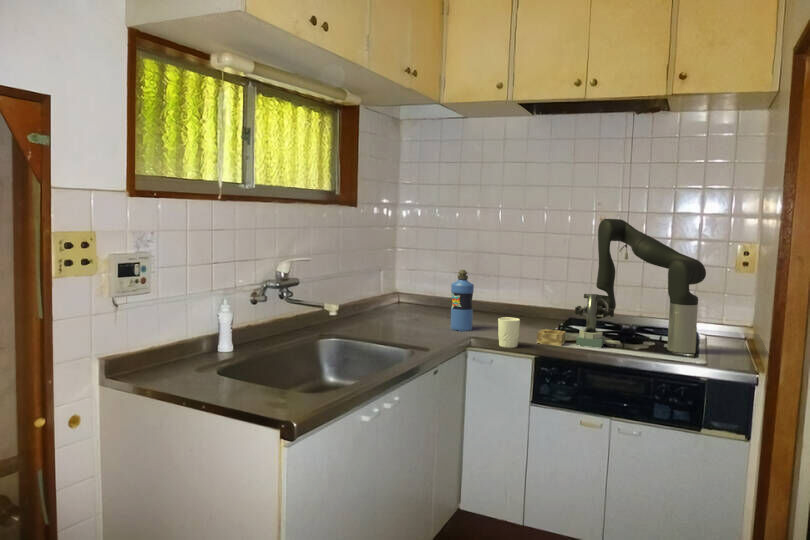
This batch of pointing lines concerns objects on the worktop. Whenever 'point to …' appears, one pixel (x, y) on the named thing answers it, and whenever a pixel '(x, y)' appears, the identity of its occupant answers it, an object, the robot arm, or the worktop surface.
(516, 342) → the white cup
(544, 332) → the tan flat block
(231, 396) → the worktop surface
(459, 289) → the water bottle
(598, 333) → the chuck block
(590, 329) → the chuck key
